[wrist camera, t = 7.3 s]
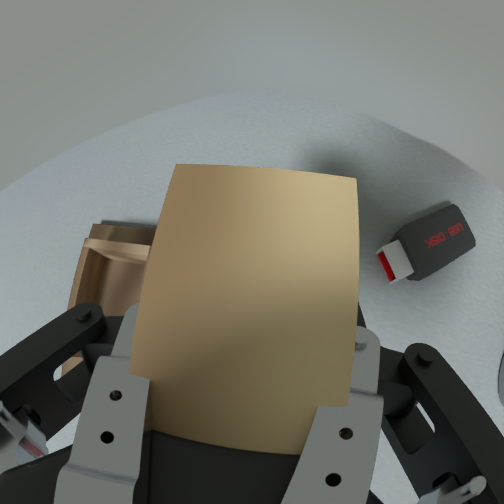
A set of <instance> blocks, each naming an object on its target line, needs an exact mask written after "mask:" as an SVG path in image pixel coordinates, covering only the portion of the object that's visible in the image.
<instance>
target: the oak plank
mask: <svg viewBox="0 0 504 504" xmlns="http://www.w3.org/2000/svg"><path fill="white" fill-rule="evenodd" d="M358 292H359V216H358V196H357V181H356V178H350V177H343V176H336V175H329V174H321V173H313V172H304V171H295V170H285V169H274V168H261V167H247V166H229V165H203V164H176V166H175V169H174V172H173V175H172V178H171V181H170V184H169V187H168V191H167V194H166V197H165V201H164V204H163V207H162V211H161V214H160V218H159V221H158V225H157V229H156V233H155V236H154V240H153V244H152V248H151V252H150V256H149V260H148V265H147V269H146V274H145V278H144V283H143V287H142V292H141V297H140V302H139V308H138V313H137V319H136V324H135V330H134V336H133V343H132V350H131V357H130V365H129V373H128V374H132V375H135V376H138V377H142V378H145V379H149V380H150V389H151V402H152V413H153V419H152V429H153V430H156V431H160V432H163V433H167V434H170V435H174V436H178V437H182V438H186V439H190V440H194V441H198V442H203V443H208V444H213V445H218V446H223V447H229V448H236V449H242V450H250V451H258V452H268V453H279V454H296V455H300V452H301V449H302V447H303V444H304V441H305V439H306V436H307V434H308V431H309V429H310V426H311V424H312V421H313V419H314V416H315V413H316V411H317V408H318V406H347V404H348V397H349V391H350V384H351V376H352V368H353V360H354V350H355V339H356V327H357V312H358Z"/></svg>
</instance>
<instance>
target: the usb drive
mask: <svg viewBox="0 0 504 504" xmlns="http://www.w3.org/2000/svg"><path fill="white" fill-rule="evenodd" d="M475 246H476V243H475V238H474V236H473V234H472V232H471V230H470V228H469V226H468V224H467V222H466V220H465V218H464V216H463V214H462V213H461V211H460V209H459V207H458V206H456V205H455V204H453V205H450V206H448V207H446V208H444V209H441V210H439V211H437V212H435V213H432V214H430V215H428V216H426V217H423V218H421V219H419V220H416V221H414V222H412V223H409V224H407V225H405V226H403V227H402V228H401V229H400V230H399V231H398V232H397V233H396V234H395V236H394V237H393V239H392V240H391V242H390V243H389V244H387V245H385V246H382V247H381V248H380V249H379V250H378V251H377V252H376V255H377V257H378V259H379V261H380V263H381V265H382V268H383V270H384V272H385V274H386V276H387V278H388V281H389V283H390V285H391V284H393V283H395V282H397V281H399V280H401V279H403V278H405V277H407V279H408V280H416V281H419V280H421V279H423V278H425V277H427V276H429V275H431V274H432V273H434V272H436V271H437V270H439V269H441V268H442V267H444V266H446V265H447V264H449V263H450V262H452V261H454V260H455V259H457V258H458V257H460V256H461V255H463V254H465V253H466V252H468V251H469V250H471V249H472V248H473V247H475Z"/></svg>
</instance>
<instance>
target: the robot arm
mask: <svg viewBox="0 0 504 504" xmlns="http://www.w3.org/2000/svg"><path fill="white" fill-rule="evenodd" d="M138 308H139V303H137V304H135V305H133V306H131V307H130V308H129V309H128V310H127V311H126V313H125V316H104V313H103V310H102V307H101V306H100V305H98V304H96V303H93V302H85V303H81V304H78V305H76V306H74V307H72V308H71V309H69V310H68V311H66V312H65V313H63V314H61V315H60V316H58V317H57V318H55V319H54V320H52V321H51V322H49V323H48V324H46V325H45V326H43V327H42V328H40V329H39V330H37V331H36V332H34V333H33V334H31V335H30V336H28V337H27V338H25V339H24V340H22V341H21V342H19V343H18V344H17V345H15V346H14V347H12V348H11V349H9V350H8V351H7V352H5V353H4V354H2V355H1V356H0V504H384V503H383V502H382V501H381V500H380V499H379V498H378V497H377V496H376V495H375V494H374V493H373V492H372V491H371V490H370V484H371V480H372V475H373V471H374V466H375V461H376V455H377V449H378V443H379V437H380V430H381V428H382V430H383V432H384V434H385V436H386V438H387V439H388V441H389V443H390V445H391V447H392V448H393V450H394V452H395V454H396V456H397V458H398V460H399V461H400V463H401V465H402V467H403V469H404V471H405V473H406V475H407V476H408V478H409V480H410V482H411V484H412V486H413V488H414V490H415V492H416V494H417V496H418V498H419V501H418V503H417V504H504V437H503V435H502V434H501V432H500V431H499V429H498V428H497V426H496V425H495V424H494V422H493V421H492V419H491V418H490V417H489V415H488V414H487V412H486V411H485V410H484V408H483V407H482V406H481V404H480V403H479V402H478V400H477V399H476V398H475V396H474V395H473V394H472V393H471V391H470V390H469V389H468V387H467V386H466V385H465V384H464V382H463V381H462V380H461V379H460V377H459V376H458V375H457V374H456V372H455V371H454V370H453V369H452V367H451V366H450V365H449V364H448V363H447V361H446V360H445V359H444V358H443V357H442V355H441V354H440V353H439V352H438V351H437V350H436V349H435V348H433V347H431V346H429V345H427V344H423V343H414V344H411V345H410V346H408V347H407V349H406V350H405V352H404V353H401V352H397V351H394V350H390V349H387V348H384V347H382V346H380V341H379V339H378V337H377V336H376V335H375V334H374V333H373V332H372V331H370V330H369V329H367V328H366V325H365V321H364V318H363V315H362V311H361V308H360V306H359V302H358V312H357V327H356V339H355V350H354V360H353V368H352V376H351V384H350V391H349V397H348V404H347V406H318V408H317V411H316V413H315V416H314V419H313V421H312V424H311V426H310V429H309V431H308V434H307V436H306V439H305V441H304V444H303V447H302V449H301V452H300V455H296V454H279V453H268V452H258V451H250V450H242V449H236V448H229V447H223V446H218V445H213V444H208V443H203V442H198V441H194V440H190V439H186V438H182V437H178V436H174V435H170V434H167V433H163V432H160V431H156V430H153V429H152V419H153V413H152V402H151V389H150V380H149V379H145V378H142V377H138V376H135V375H132V374H128V373H129V365H130V357H131V350H132V343H133V336H134V330H135V324H136V319H137V313H138ZM77 352H79V353H80V355H81V357H82V359H83V361H81V362H80V363H79V364H78V365H76V366H75V367H74V368H72V369H71V370H70V371H69V372H67V373H66V374H65V375H63V376H62V377H61V378H60V379H58V380H56V381H54V379H53V374H54V371H55V370H56V368H58V367H59V366H60V365H61V364H63V363H64V362H65V361H67V360H68V359H69V358H71V357H72V356H73V355H75V354H76V353H77ZM498 386H499V396H500V400H501V402H502V404H503V405H504V357H503V360H502V364H501V368H500V373H499V384H498ZM418 403H420V404H421V406H422V407H423V409H424V410H425V412H426V413H427V415H428V416H429V418H430V419H431V421H432V422H433V424H434V428H435V432H433V430H432V429H431V427H430V426H429V424H428V422H427V421H426V419H425V418H424V416H423V415H422V413H421V412H420V410H419V409H418V407H417V406H416V405H417V404H418ZM80 412H81V414H80V418H79V422H78V425H77V429H76V433H75V438H74V442H73V444H72V445H70V446H67V447H65V448H63V449H60V450H58V451H56V452H53V453H51V454H48V453H49V452H48V448H47V447H46V442H47V441H48V440H49V439H50V438H51V437H53V436H54V435H55V434H56V433H57V432H58V431H60V430H61V429H62V428H63V427H64V426H65V425H67V424H68V423H69V422H70V421H71V420H72V419H73V418H75V417H76V416H77V415H78V414H79V413H80Z"/></svg>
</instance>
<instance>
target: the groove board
mask: <svg viewBox="0 0 504 504" xmlns="http://www.w3.org/2000/svg"><path fill="white" fill-rule="evenodd" d="M155 233H156V229H147V228H136V227H126V226H115V225H103V224H93V225H92V228H91V231H90V235H89V238H85V241H84V244H83V247H82V251H81V254H80V258H79V261H78V265H77V269H76V273H75V277H74V281H73V285H72V289H71V294H70V298H69V303H68V308H67V311H68V310H69V309H71V308H72V307H74V306H76V305H78V304H81V303H85V302H93V303H96V304H98V305H100V306H101V307H102V310H103V313H104V316H125V313H126V311H127V310H128V309H129V308H130V307H131V306H133V305H135V304H137V303H139V302H140V297H141V292H142V287H143V283H144V278H145V274H146V269H147V265H148V260H149V256H150V252H151V248H152V244H153V240H154V236H155ZM81 361H83V359H82V357H81V355H80V353H79V352H77V353H76V354H75V355H73V356H72V357H71V358H69V359H68V360H67V361H65V362H64V363H63V364H62V374H61V377H62V376H63V375H65V374H66V373H67V372H69V371H70V370H71V369H72V368H74V367H75V366H76V365H78V364H79V363H80V362H81Z"/></svg>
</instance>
